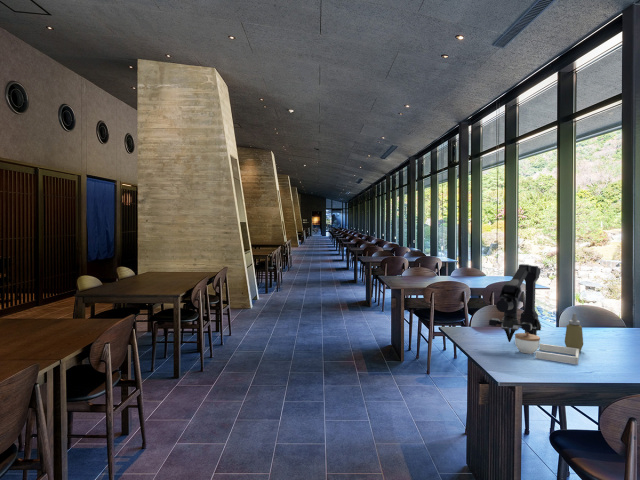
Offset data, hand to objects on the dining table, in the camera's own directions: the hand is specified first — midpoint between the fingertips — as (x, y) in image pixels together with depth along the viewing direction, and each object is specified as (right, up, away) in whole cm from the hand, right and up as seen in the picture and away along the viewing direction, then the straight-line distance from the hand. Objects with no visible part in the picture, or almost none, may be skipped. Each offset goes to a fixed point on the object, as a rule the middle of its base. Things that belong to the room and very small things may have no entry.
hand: (509, 341), depth 210 cm
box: (+17, -4, -11) cm, 21 cm away
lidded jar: (+6, -4, -4) cm, 9 cm away
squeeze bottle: (+31, -4, 0) cm, 32 cm away
